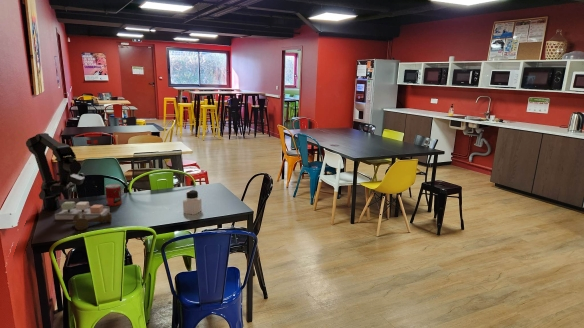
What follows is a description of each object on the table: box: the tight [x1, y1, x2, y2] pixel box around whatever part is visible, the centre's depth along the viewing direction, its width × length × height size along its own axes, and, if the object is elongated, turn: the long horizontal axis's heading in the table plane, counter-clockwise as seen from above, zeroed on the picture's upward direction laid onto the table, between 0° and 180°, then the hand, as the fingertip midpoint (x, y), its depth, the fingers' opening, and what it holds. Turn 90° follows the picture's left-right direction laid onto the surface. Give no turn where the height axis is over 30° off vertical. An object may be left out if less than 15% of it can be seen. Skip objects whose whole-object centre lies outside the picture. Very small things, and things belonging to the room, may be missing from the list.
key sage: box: [60, 201, 76, 211], centre depth 196 cm, size 5×5×3 cm
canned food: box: [104, 183, 123, 207], centre depth 214 cm, size 8×8×11 cm
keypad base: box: [54, 205, 111, 220], centre depth 197 cm, size 22×12×4 cm, turn 95°
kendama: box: [65, 212, 113, 231], centre depth 184 cm, size 6×10×20 cm
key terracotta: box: [90, 204, 104, 213], centre depth 197 cm, size 5×5×3 cm
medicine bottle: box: [182, 189, 203, 216], centre depth 205 cm, size 7×7×12 cm
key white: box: [75, 201, 90, 210], centre depth 196 cm, size 5×5×3 cm
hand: (67, 199), depth 195 cm, fingers closed
